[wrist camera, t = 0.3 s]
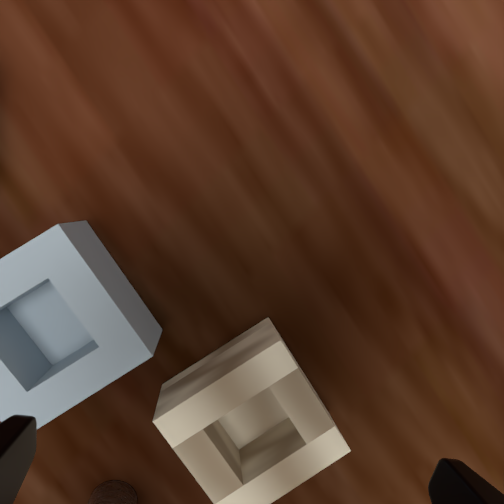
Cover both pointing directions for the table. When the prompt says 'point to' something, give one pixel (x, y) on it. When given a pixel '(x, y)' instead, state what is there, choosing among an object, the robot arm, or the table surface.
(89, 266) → the slate block
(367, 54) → the table surface
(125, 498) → the cylinder
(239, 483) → the birch block
